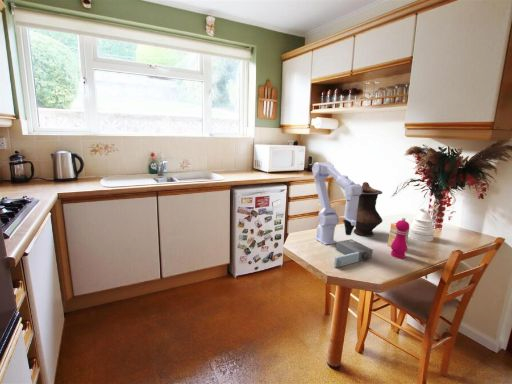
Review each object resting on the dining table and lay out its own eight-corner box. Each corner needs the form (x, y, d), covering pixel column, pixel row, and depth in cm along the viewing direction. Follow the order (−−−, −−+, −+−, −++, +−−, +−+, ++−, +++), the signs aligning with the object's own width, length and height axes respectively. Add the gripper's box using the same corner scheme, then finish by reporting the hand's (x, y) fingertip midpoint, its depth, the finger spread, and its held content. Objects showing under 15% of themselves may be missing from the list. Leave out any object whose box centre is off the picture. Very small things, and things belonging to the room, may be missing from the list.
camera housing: (335, 249, 148) (337, 241, 147) (350, 247, 153) (351, 238, 152) (358, 262, 135) (359, 252, 134) (373, 259, 139) (374, 249, 138)
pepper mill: (397, 259, 140) (403, 220, 136) (386, 253, 147) (392, 215, 142) (409, 258, 142) (415, 219, 138) (398, 252, 149) (404, 215, 145)
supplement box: (386, 245, 157) (390, 222, 154) (393, 244, 159) (397, 222, 156) (399, 251, 150) (403, 227, 147) (406, 250, 151) (410, 227, 148)
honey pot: (410, 239, 168) (415, 209, 164) (406, 232, 180) (411, 204, 176) (435, 243, 164) (441, 212, 161) (429, 235, 176) (434, 207, 173)
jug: (383, 240, 164) (391, 189, 157) (350, 237, 167) (356, 186, 160) (374, 228, 184) (381, 182, 178) (345, 225, 187) (350, 180, 180)
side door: (337, 268, 127) (338, 259, 126) (334, 266, 129) (335, 257, 128) (360, 262, 134) (361, 253, 133) (356, 260, 136) (357, 252, 135)
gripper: (339, 204, 148) (336, 229, 151) (346, 212, 134) (343, 239, 137) (353, 205, 148) (350, 230, 151) (362, 213, 134) (358, 240, 137)
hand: (348, 234), depth 144 cm, fingers closed
